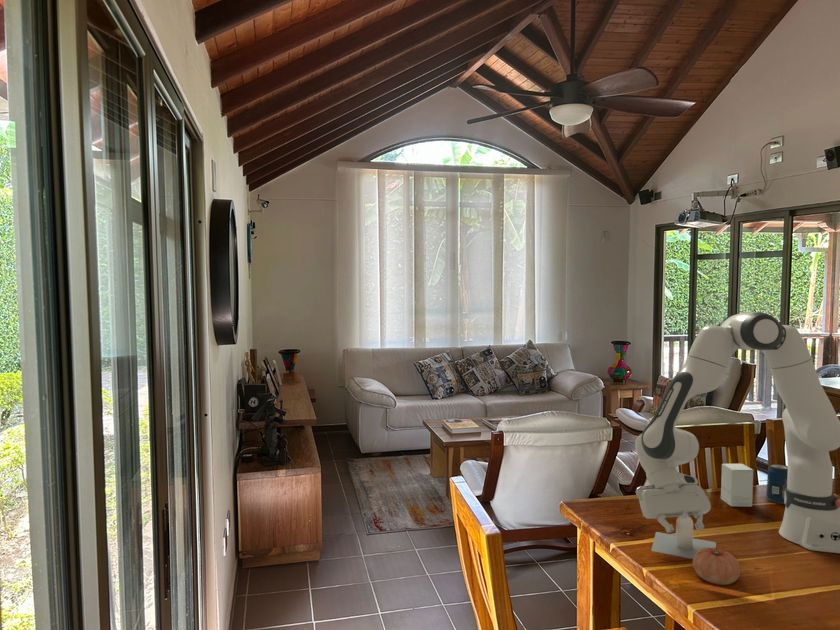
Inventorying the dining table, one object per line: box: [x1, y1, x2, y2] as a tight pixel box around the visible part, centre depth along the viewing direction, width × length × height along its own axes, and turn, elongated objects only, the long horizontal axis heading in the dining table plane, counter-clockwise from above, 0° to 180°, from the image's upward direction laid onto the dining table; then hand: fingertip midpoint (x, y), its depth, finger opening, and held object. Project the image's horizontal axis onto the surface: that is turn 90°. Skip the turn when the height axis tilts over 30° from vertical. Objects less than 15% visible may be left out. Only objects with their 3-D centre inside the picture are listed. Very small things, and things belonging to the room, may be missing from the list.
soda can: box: [766, 463, 788, 504], centre depth 206 cm, size 7×7×12 cm
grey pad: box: [650, 531, 717, 560], centre depth 169 cm, size 16×14×1 cm
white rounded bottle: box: [675, 511, 694, 550], centre depth 168 cm, size 4×4×10 cm
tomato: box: [692, 547, 741, 586], centre depth 151 cm, size 11×11×8 cm
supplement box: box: [720, 463, 754, 508], centre depth 204 cm, size 7×7×13 cm
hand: (685, 530), depth 168 cm, fingers open, 8 cm apart
